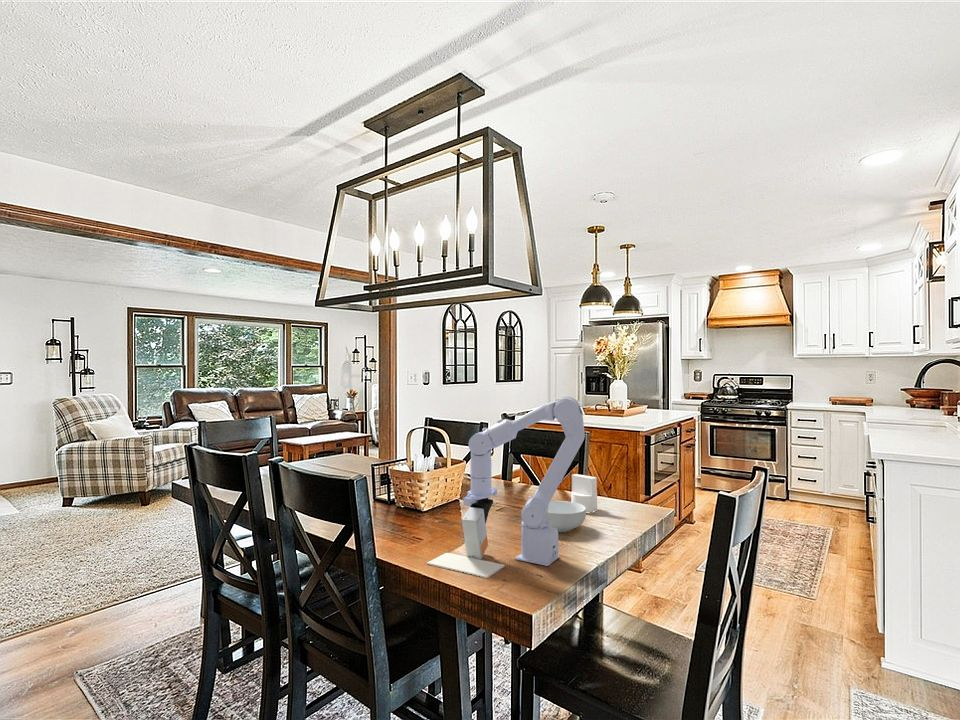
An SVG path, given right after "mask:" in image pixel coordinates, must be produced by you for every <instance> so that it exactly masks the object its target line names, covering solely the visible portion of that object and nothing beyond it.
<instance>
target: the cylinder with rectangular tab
mask: <svg viewBox="0 0 960 720" xmlns="http://www.w3.org/2000/svg"><path fill="white" fill-rule="evenodd" d="M597 481H598V480H597V477H596V476H591V475H590V476H589V475H586V474H585V475H584V474H578V473H574V474H572V475H571V493H570V494H571V495H570V496H571V500H570V502H574V503H578V504H581V505H583V506H585V507H586V512H593V511H595V510H597V511H598V494H597V493H598V492H597V491H598V490H597V488H598V487H597Z"/></svg>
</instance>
